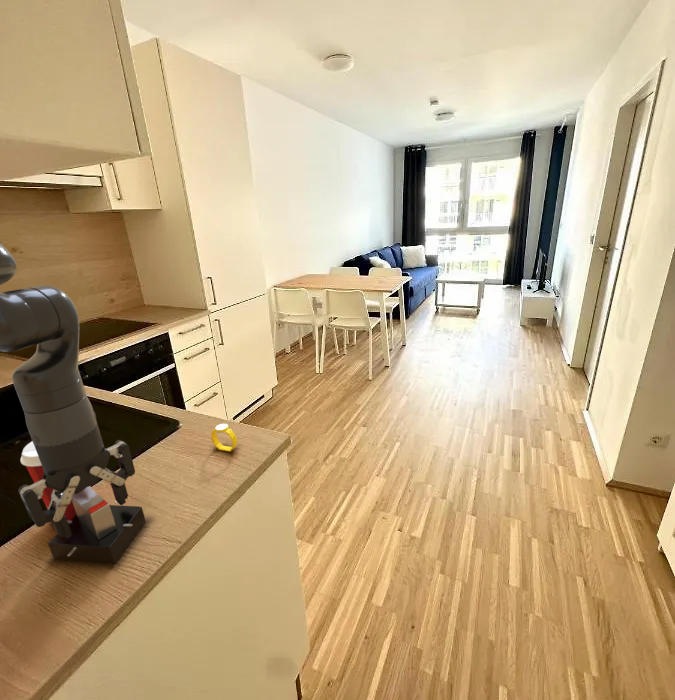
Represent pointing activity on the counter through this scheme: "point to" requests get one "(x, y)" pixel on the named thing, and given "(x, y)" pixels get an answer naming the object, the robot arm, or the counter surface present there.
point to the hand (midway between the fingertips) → (95, 517)
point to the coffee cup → (41, 477)
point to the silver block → (94, 512)
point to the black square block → (106, 549)
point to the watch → (225, 428)
